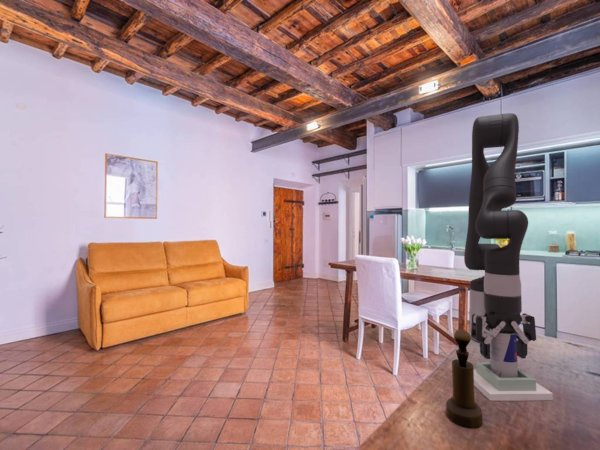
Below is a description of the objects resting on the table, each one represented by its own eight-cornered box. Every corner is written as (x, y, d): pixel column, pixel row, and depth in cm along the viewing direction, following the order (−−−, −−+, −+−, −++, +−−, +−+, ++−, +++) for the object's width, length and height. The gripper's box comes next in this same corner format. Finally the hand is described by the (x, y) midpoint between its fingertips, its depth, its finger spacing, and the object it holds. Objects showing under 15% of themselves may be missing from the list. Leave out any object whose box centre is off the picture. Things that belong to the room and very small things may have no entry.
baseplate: (463, 375, 76) (462, 360, 76) (516, 375, 76) (516, 359, 76) (490, 400, 65) (490, 383, 65) (552, 400, 65) (552, 382, 65)
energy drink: (523, 385, 68) (522, 334, 68) (501, 386, 68) (499, 334, 68) (507, 374, 73) (505, 327, 73) (486, 375, 73) (485, 327, 73)
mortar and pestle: (450, 403, 64) (448, 322, 64) (484, 415, 60) (482, 329, 60) (442, 419, 59) (441, 331, 59) (479, 433, 55) (477, 338, 55)
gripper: (519, 287, 74) (521, 350, 74) (464, 288, 74) (465, 351, 74) (544, 294, 67) (545, 364, 66) (482, 295, 67) (483, 365, 67)
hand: (503, 357), depth 70 cm, fingers open, 8 cm apart
